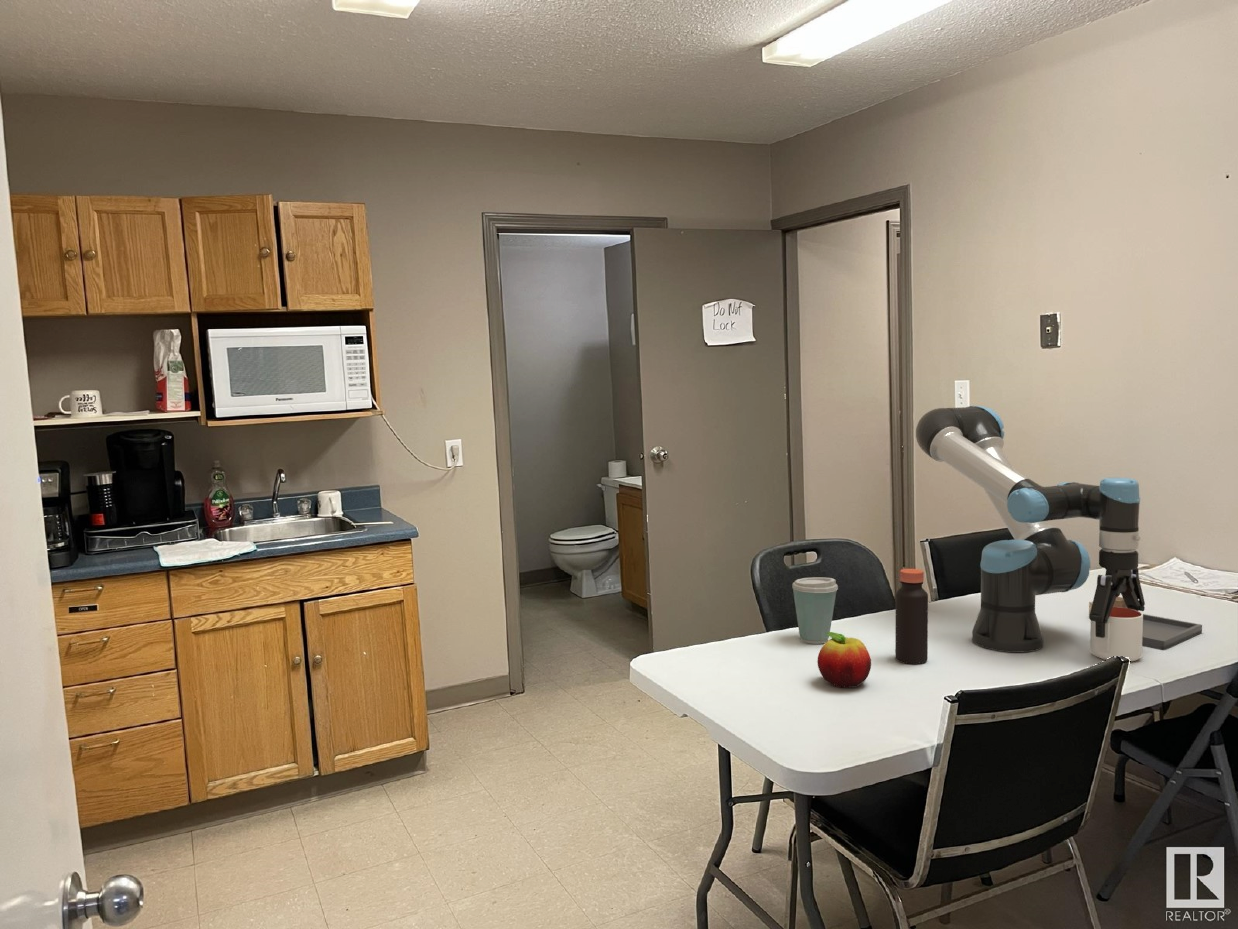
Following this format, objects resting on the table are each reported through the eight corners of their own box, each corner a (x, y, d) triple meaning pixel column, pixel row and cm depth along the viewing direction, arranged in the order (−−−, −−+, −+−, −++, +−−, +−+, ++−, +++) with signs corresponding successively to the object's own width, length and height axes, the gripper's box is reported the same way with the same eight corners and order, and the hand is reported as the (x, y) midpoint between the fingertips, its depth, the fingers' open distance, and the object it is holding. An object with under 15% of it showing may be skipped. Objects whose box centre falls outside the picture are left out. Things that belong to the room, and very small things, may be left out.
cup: (1148, 664, 196) (1150, 618, 195) (1097, 663, 198) (1098, 617, 197) (1132, 650, 206) (1133, 606, 205) (1084, 649, 208) (1085, 605, 207)
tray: (1163, 650, 206) (1164, 641, 205) (1091, 635, 218) (1091, 626, 218) (1201, 633, 218) (1202, 624, 217) (1131, 619, 230) (1131, 611, 230)
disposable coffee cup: (783, 641, 220) (783, 579, 218) (807, 631, 228) (807, 571, 226) (822, 649, 213) (822, 585, 211) (846, 639, 220) (846, 577, 219)
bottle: (888, 658, 205) (889, 569, 203) (913, 653, 208) (913, 566, 206) (909, 666, 199) (910, 575, 197) (934, 662, 202) (935, 572, 200)
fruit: (838, 695, 183) (838, 646, 182) (806, 679, 193) (806, 633, 192) (882, 687, 187) (882, 639, 186) (848, 671, 197) (848, 626, 196)
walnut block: (1119, 616, 234) (1119, 601, 233) (1104, 613, 237) (1104, 598, 237) (1128, 614, 236) (1129, 598, 235) (1113, 611, 239) (1113, 595, 239)
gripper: (1108, 559, 189) (1107, 660, 191) (1162, 544, 204) (1161, 638, 206) (1072, 555, 195) (1071, 653, 197) (1127, 540, 210) (1126, 631, 212)
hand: (1117, 645), depth 202 cm, fingers open, 13 cm apart
